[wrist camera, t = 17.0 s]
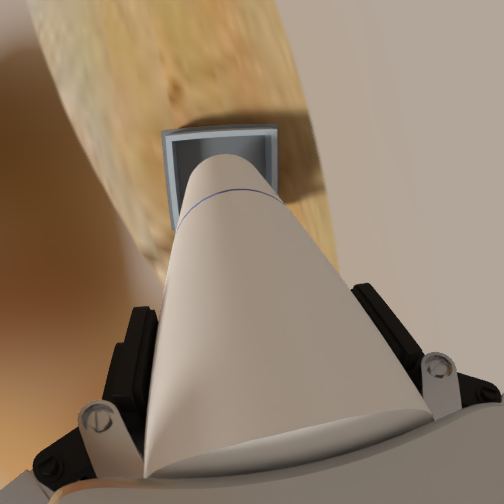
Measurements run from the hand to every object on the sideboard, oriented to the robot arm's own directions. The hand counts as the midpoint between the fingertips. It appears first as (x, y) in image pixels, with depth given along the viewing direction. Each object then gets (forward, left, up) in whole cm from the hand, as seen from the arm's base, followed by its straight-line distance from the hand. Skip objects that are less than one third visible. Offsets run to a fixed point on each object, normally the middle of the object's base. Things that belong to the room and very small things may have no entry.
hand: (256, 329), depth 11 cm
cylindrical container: (0, 0, -19) cm, 19 cm away
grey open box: (0, 0, -30) cm, 30 cm away
